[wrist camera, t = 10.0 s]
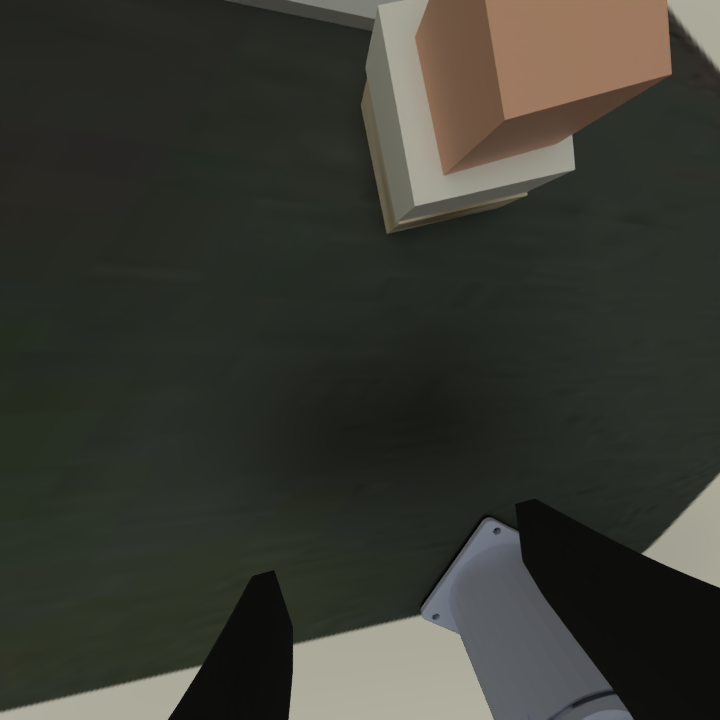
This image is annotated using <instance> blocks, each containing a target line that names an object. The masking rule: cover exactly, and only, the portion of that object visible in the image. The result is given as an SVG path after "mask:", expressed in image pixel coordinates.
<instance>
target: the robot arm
mask: <svg viewBox="0 0 720 720" xmlns="http://www.w3.org/2000/svg"><path fill="white" fill-rule="evenodd" d="M515 506H516V514H517V522H518V530H519V532H518V531H517V530H515V529H513V528H511V527H509V526H507V525H505V524H503V523H501V522H499V521H497V520H496V519H494V518H491V517H489V518H486V519H484V520H483V521H482V522H481V524H480V525H479V526H478V528H477V529H476V531H475V532H474V534H473V535H472V536H471V538H470V539H469V541H468V542H467V543H466V545H465V546H464V548H463V549H462V551H461V552H460V553H459V555H458V556H457V558H456V559H455V560H454V562H453V563H452V565H451V566H450V568H449V569H448V570H447V572H446V573H445V575H444V576H443V577H442V579H441V580H440V582H439V583H438V585H437V586H436V587H435V589H434V590H433V592H432V593H431V594H430V596H429V597H428V599H427V600H426V602H425V603H424V604H423V606H422V608H421V614H422V617H423V618H424V619H426V620H428V621H430V622H433V623H435V624H437V625H439V626H442V627H444V628H446V629H449V630H451V631H453V632H456V633H458V634H460V636H461V639H462V641H463V644H464V646H465V648H466V651H467V653H468V656H469V658H470V661H471V663H472V666H473V668H474V671H475V673H476V676H477V678H478V681H479V683H480V686H481V688H482V691H483V693H484V695H485V698H486V701H487V703H488V706H489V708H490V711H491V713H492V716H493V718H494V720H720V588H719V587H716V586H714V585H711V584H709V583H706V582H704V581H701V580H699V579H696V578H694V577H691V576H689V575H687V574H684V573H682V572H680V571H677V570H675V569H672V568H670V567H668V566H666V565H664V564H661V563H659V562H657V561H655V560H653V559H651V558H648V557H646V556H644V555H642V554H640V553H638V552H636V551H634V550H631V549H629V548H627V547H625V546H623V545H621V544H619V543H617V542H615V541H613V540H611V539H609V538H607V537H605V536H604V535H602V534H600V533H598V532H596V531H594V530H592V529H590V528H588V527H586V526H585V525H583V524H581V523H579V522H577V521H575V520H573V519H572V518H570V517H568V516H566V515H564V514H562V513H561V512H559V511H557V510H555V509H553V508H551V507H549V506H548V505H546V504H544V503H542V502H540V501H538V500H536V499H532V500H528V501H525V502H521V503H517V504H515ZM495 528H498V529H497V530H495V531H494V529H495ZM436 613H437V614H436ZM434 614H435V615H434ZM292 675H293V626H292V623H291V620H290V617H289V614H288V611H287V608H286V605H285V602H284V599H283V596H282V593H281V590H280V587H279V583H278V580H277V577H276V574H275V571H274V570H273V571H270V572H266V573H262V574H259V575H255V576H253V577H252V578H251V580H250V581H249V583H248V585H247V587H246V589H245V590H244V592H243V594H242V596H241V598H240V600H239V602H238V603H237V605H236V607H235V609H234V611H233V613H232V614H231V616H230V618H229V620H228V622H227V623H226V625H225V627H224V629H223V631H222V632H221V634H220V636H219V638H218V639H217V641H216V643H215V645H214V646H213V648H212V650H211V651H210V653H209V655H208V657H207V658H206V660H205V662H204V663H203V665H202V667H201V668H200V670H199V672H198V673H197V675H196V676H195V678H194V680H193V681H192V683H191V684H190V686H189V688H188V689H187V691H186V692H185V694H184V696H183V697H182V699H181V701H180V702H179V704H178V705H177V707H176V708H175V710H174V711H173V713H172V714H171V716H170V717H169V719H168V720H288V718H289V708H290V697H291V686H292Z"/></svg>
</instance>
